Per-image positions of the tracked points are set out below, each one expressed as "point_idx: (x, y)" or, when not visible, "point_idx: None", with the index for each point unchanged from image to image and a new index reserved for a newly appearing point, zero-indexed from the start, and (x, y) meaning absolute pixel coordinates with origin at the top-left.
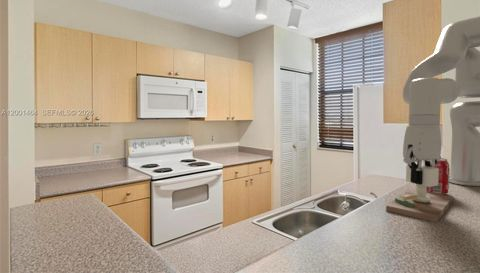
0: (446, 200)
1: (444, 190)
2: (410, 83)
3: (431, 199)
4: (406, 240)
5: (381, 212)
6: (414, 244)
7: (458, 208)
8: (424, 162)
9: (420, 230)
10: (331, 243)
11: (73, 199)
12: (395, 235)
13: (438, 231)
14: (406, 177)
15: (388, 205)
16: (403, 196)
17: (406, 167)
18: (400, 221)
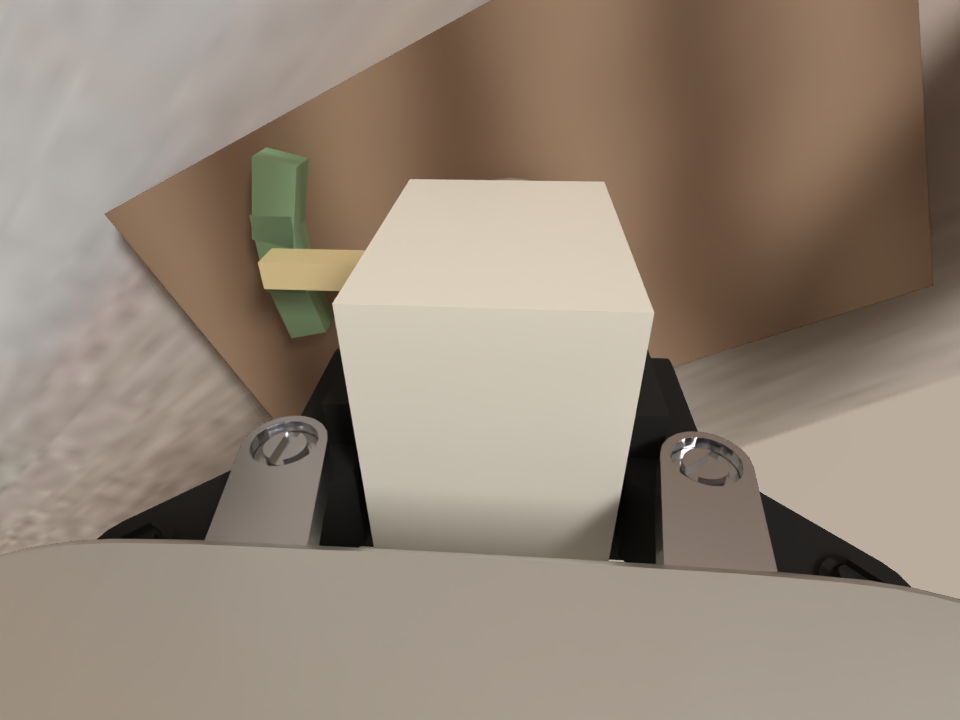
0: (742, 324)
1: None
2: None
3: (655, 254)
4: (32, 504)
5: (75, 211)
6: (47, 530)
7: (725, 374)
8: (660, 548)
9: (162, 474)
10: None
11: None
12: (3, 463)
13: None
14: (398, 205)
15: (127, 217)
16: (261, 267)
17: (347, 281)
18: (126, 372)
